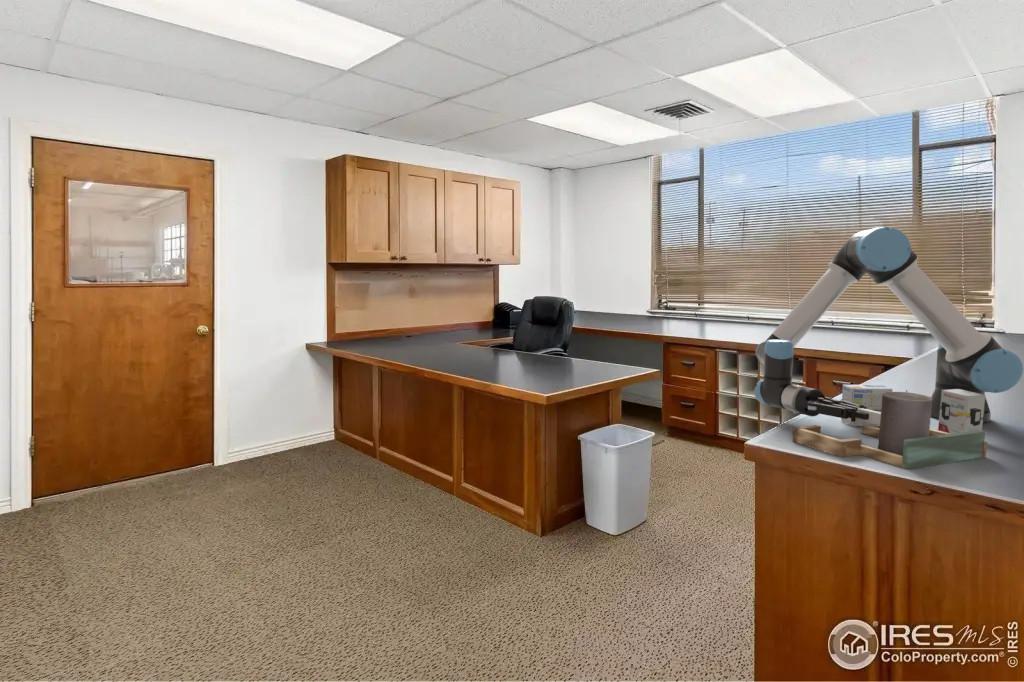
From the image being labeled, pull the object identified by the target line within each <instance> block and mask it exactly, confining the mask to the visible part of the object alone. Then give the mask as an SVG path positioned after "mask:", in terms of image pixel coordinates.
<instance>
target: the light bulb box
mask: <svg viewBox="0 0 1024 682" xmlns="http://www.w3.org/2000/svg"><path fill="white" fill-rule="evenodd" d="M885 392H893V388H891V387H888V386H884V385H882V384H842V393H841V394H842V395H841V399H844V400H846V401H848V402H852V403H855V404H858V405H864V406H865V407H867V409H868V410H873V411H877V412H881V406H882V395H883V393H885ZM841 420H842V421H843V422H842V421H841ZM840 421H841V422H842V423H844V422H845V423H844V424H846V423H847V424H846V425H848V424H849V425H848V426H849V427H862V425H868V426H872V427H876V428H880V425H878V424H874V423H870V422H866V421H862V420H858V419H857V418H856V421H855V422H852V421H851V418H848V419H844V418H840Z"/></svg>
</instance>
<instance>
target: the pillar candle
mask: <svg viewBox="0 0 1024 682" xmlns="http://www.w3.org/2000/svg"><path fill="white" fill-rule="evenodd" d="M931 407H932V398H931V396H929V395H924V394H920V393H914V392H908V389H906V390H905V391H892V392H885V393H883V395H882V406H881V419H880V427H879V428H880V430H879V438H878V444H877V449H880V450H884V451H887V452H890V453H894V454H897V455H901V456H903V446H904V440H908V439H915V438H923V437H929V429H931V418H932V417H931Z"/></svg>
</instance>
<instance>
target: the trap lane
mask: <svg viewBox="0 0 1024 682" xmlns="http://www.w3.org/2000/svg"><path fill="white" fill-rule="evenodd" d="M821 429H822V426H820V425H819V424H818V425H817V424H813V425H806V426H797V427H792V440H791V441H792V442H793V441H795V442H794V443H796V442H798V443H797V444H799V443H801V444H800V445H802V444H804V445H803V446H805V445H807V446H806V447H808V446H810V447H809V448H811V447H813V448H812V449H814V448H816V449H815V450H817V449H819V450H818V451H821V450H822V451H821V452H824V451H826V452H825V453H827V452H828V454H830V453H831V454H830V455H833V454H834V455H833V456H836V455H837V457H839V456H840V457H839V458H845V457H851V456H852V455H853V456H858V455H859V456H865V457H867V458H870V459H875V460H878V461H881V462H884V463H887V464H891V465H893V466H897V467H900V468H902V469H907V470H913V469H918V468H925V467H932V466H938V465H945V464H952V463H957V462H956V461H958V462H964V461H969V459H970V460H976V459H975V458H977V459H984V458H986V457H987V449H988V441H985V440H986V439H985V437H986V431H984V430H982V431H980V430H975V431H967V432H960V433H952V434H951V433H947V432H942V431H938V429H937V430H936V429H933V428H930V429H929V437H923V438H915V439H908V440H904V446H903V456H901V455H897V454H894V453H890V452H887V451H884V450H880V449H878V447H877V448H876V447H873V446H870V445H869V446H868V445H866V444H862V439H860V438H857V437H853V438H852V437H851V438H842V439H839V438H837V437H833V436H830V435H826V434H824V433H821V432H822V431H821ZM879 430H880V427H876V426H868V425H862V426H861V431H860V432H861V434H865V435H867V436H872V437H874V438H878V437H879ZM844 456H845V457H844ZM963 460H964V461H963ZM944 463H945V464H944Z"/></svg>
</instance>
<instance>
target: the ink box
mask: <svg viewBox="0 0 1024 682" xmlns="http://www.w3.org/2000/svg"><path fill="white" fill-rule="evenodd" d="M985 396H986V395H985ZM985 396H984V395H982V394H978V393H974V392H970V391H965V390H961V389H951V390H942V393H941V404H940V415H939V418H938V425H937V426H938V427H937V430H938V431H942V432H947V433H951V434H952V433H960V432H967V431H975V430H980V431H983V424H984V423H983V414H984V404H985Z"/></svg>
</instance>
